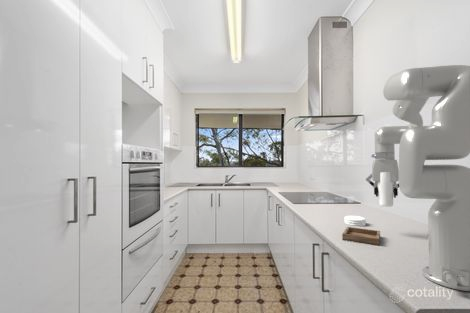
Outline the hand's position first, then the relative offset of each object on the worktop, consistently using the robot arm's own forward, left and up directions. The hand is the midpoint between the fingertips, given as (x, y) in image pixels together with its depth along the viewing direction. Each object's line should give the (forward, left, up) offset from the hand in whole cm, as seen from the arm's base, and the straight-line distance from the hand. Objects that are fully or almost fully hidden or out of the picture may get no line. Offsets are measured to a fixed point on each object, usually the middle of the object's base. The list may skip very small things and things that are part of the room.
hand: (385, 196), depth 108 cm
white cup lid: (+12, +14, -17) cm, 26 cm away
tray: (-13, +9, -17) cm, 23 cm away
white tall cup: (0, 0, -4) cm, 4 cm away
